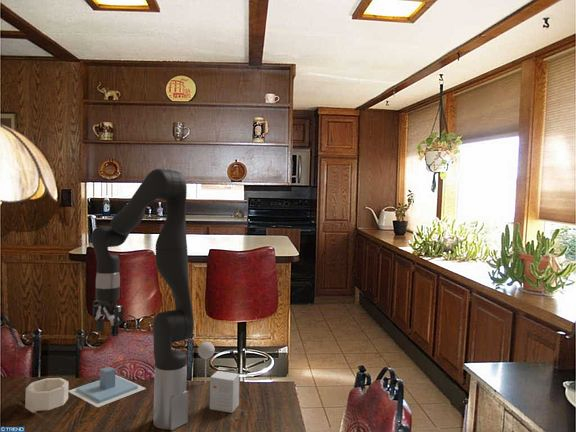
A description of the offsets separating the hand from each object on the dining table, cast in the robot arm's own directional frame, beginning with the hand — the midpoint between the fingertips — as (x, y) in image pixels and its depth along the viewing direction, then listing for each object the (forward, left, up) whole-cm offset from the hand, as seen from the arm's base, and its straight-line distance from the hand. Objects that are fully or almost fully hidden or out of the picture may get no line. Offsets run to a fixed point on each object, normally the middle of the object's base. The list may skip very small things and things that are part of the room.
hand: (107, 333), depth 150 cm
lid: (0, 0, -19) cm, 19 cm away
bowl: (+6, +17, -20) cm, 27 cm away
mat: (0, 0, -20) cm, 20 cm away
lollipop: (-20, -26, -20) cm, 39 cm away
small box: (-38, -17, -20) cm, 47 cm away
